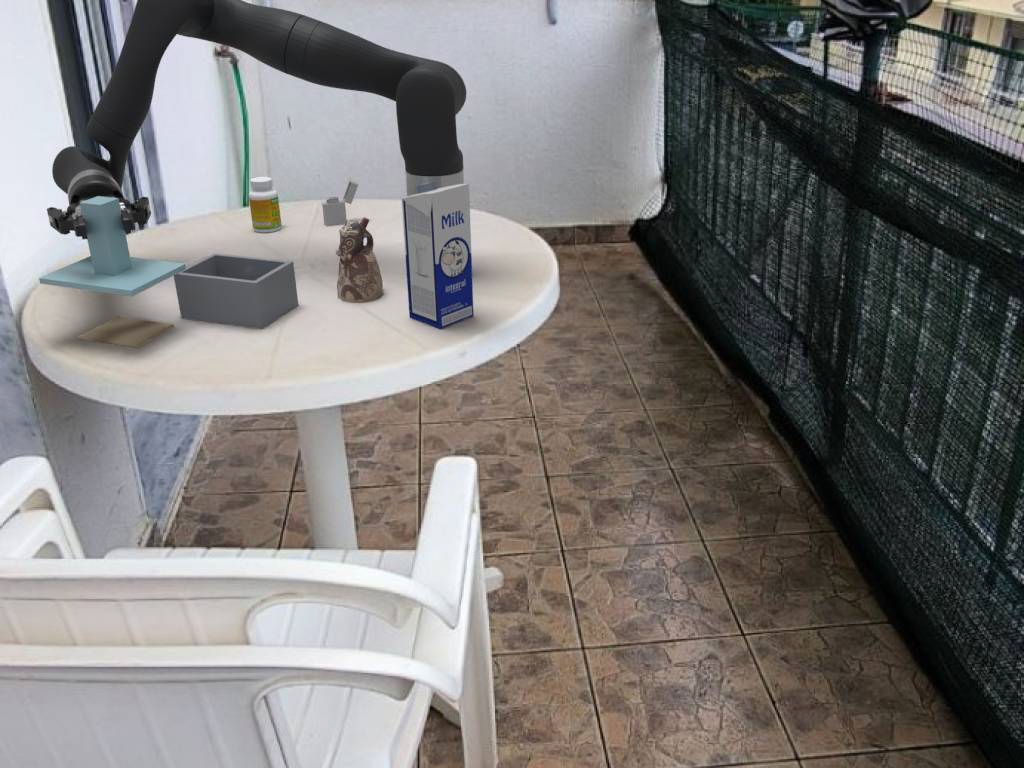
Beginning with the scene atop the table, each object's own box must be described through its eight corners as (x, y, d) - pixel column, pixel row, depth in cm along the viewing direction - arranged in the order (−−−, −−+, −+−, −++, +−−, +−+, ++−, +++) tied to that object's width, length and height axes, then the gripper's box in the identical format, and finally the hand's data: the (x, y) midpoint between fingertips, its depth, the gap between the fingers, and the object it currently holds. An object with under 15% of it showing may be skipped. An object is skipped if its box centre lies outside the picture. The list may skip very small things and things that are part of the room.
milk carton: (439, 329, 135) (432, 191, 126) (408, 318, 139) (399, 183, 130) (474, 315, 139) (470, 181, 131) (443, 305, 144) (437, 174, 135)
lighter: (326, 226, 182) (322, 185, 179) (324, 224, 184) (319, 183, 180) (361, 221, 185) (358, 181, 182) (359, 219, 187) (355, 179, 183)
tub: (298, 304, 144) (293, 261, 141) (262, 328, 136) (255, 283, 133) (220, 295, 149) (214, 253, 146) (181, 318, 140) (173, 273, 137)
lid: (186, 269, 134) (173, 194, 130) (132, 296, 125) (116, 216, 120) (98, 258, 139) (83, 185, 134) (40, 283, 129) (21, 206, 124)
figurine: (329, 293, 149) (321, 219, 144) (368, 283, 153) (362, 211, 147) (351, 306, 144) (344, 229, 139) (391, 295, 148) (385, 221, 142)
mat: (174, 326, 137) (173, 323, 137) (137, 347, 131) (137, 344, 130) (118, 318, 140) (117, 316, 140) (79, 338, 134) (79, 336, 133)
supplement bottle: (278, 233, 179) (271, 182, 175) (250, 233, 179) (242, 182, 175) (284, 225, 184) (278, 175, 179) (257, 225, 184) (250, 175, 180)
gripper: (37, 179, 136) (41, 208, 122) (142, 168, 141) (156, 195, 127) (49, 230, 139) (53, 263, 125) (151, 217, 144) (166, 248, 131)
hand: (105, 229), depth 126 cm, fingers closed on lid, 5 cm apart
